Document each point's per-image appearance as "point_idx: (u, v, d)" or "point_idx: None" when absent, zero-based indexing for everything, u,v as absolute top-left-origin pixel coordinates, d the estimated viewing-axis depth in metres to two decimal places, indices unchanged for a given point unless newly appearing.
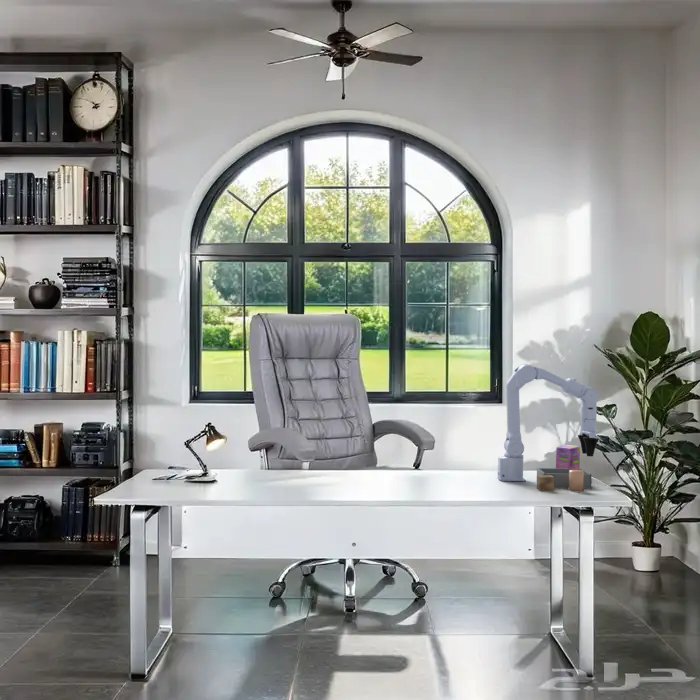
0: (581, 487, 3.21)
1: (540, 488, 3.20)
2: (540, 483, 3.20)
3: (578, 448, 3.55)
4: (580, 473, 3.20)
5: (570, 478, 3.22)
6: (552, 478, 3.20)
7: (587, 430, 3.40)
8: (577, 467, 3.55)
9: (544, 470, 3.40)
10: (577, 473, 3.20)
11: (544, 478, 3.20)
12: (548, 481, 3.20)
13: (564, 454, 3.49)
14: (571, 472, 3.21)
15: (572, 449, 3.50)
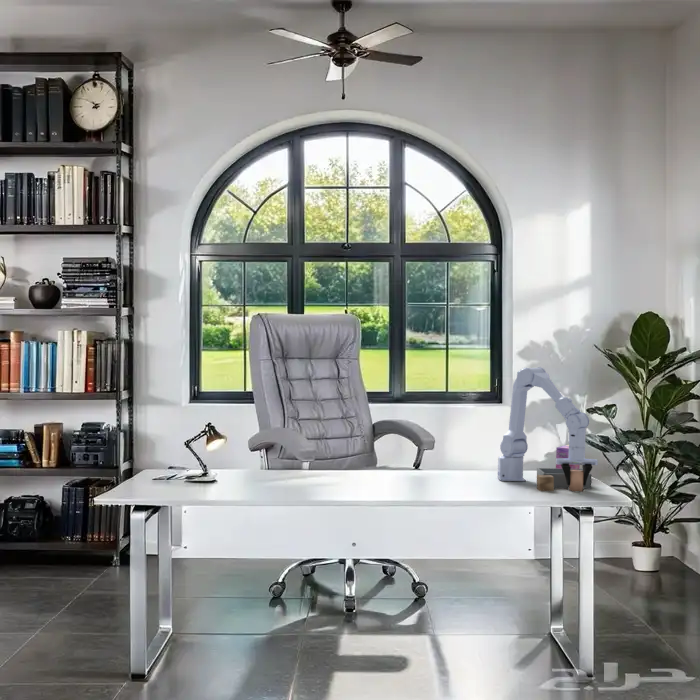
0: (581, 487, 3.21)
1: (540, 488, 3.20)
2: (540, 483, 3.20)
3: None
4: (580, 473, 3.20)
5: (570, 478, 3.22)
6: (552, 478, 3.20)
7: None
8: (577, 467, 3.55)
9: (544, 470, 3.40)
10: (577, 473, 3.20)
11: (544, 478, 3.20)
12: (548, 481, 3.20)
13: (564, 454, 3.49)
14: (571, 472, 3.21)
15: None
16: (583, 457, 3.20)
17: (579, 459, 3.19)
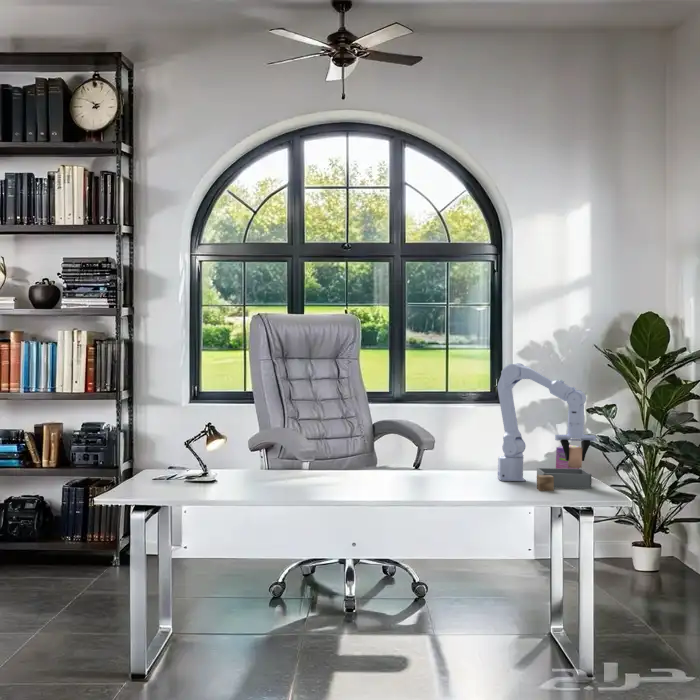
0: (580, 463, 3.30)
1: (540, 488, 3.20)
2: (540, 483, 3.20)
3: None
4: (579, 450, 3.29)
5: (569, 455, 3.31)
6: (552, 478, 3.20)
7: None
8: None
9: (544, 470, 3.40)
10: (576, 450, 3.29)
11: (544, 478, 3.20)
12: (548, 481, 3.20)
13: (564, 454, 3.49)
14: (570, 449, 3.30)
15: None
16: (582, 433, 3.30)
17: (578, 435, 3.29)
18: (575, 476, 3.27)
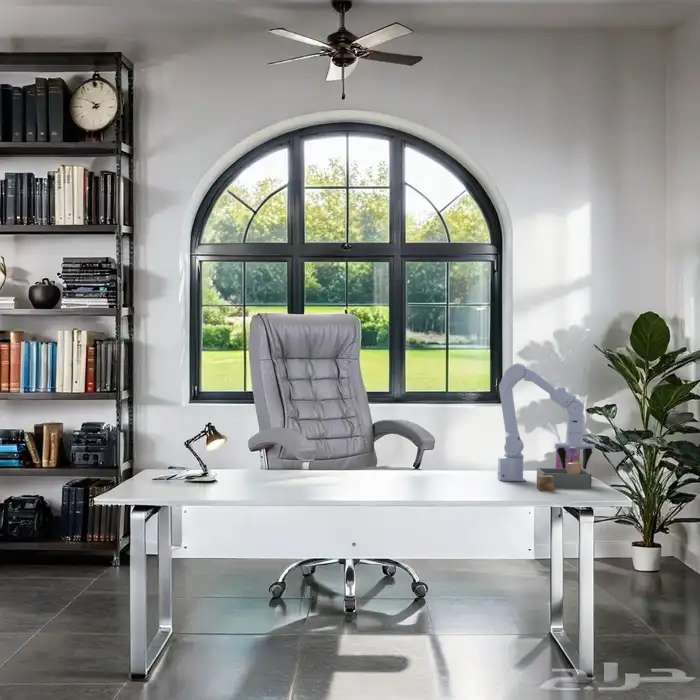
0: None
1: (540, 488, 3.20)
2: (540, 483, 3.20)
3: None
4: (577, 465, 3.34)
5: (568, 470, 3.36)
6: (552, 478, 3.20)
7: None
8: None
9: (544, 470, 3.40)
10: (574, 465, 3.34)
11: (544, 478, 3.20)
12: (548, 481, 3.20)
13: None
14: (569, 464, 3.35)
15: (572, 449, 3.50)
16: (581, 442, 3.35)
17: (577, 444, 3.34)
18: (575, 476, 3.27)
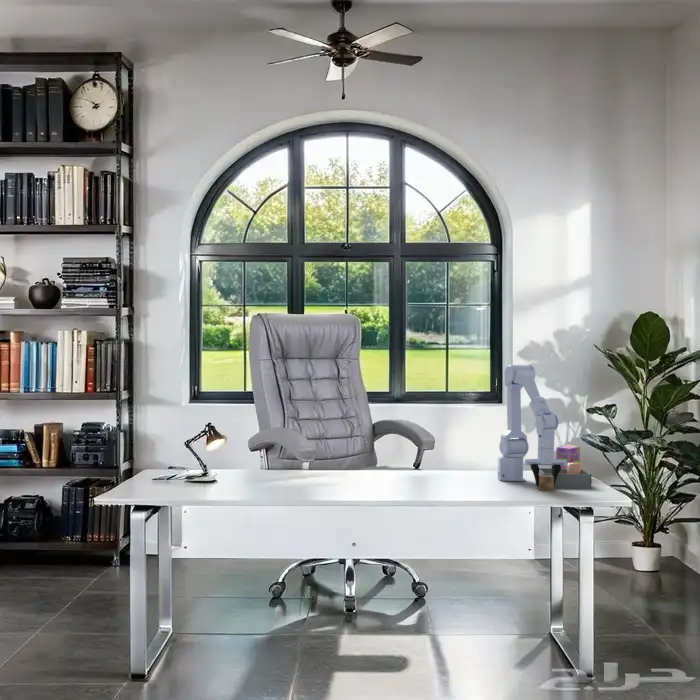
0: None
1: (540, 488, 3.20)
2: (540, 483, 3.20)
3: (578, 448, 3.55)
4: (577, 465, 3.34)
5: (568, 470, 3.36)
6: (552, 478, 3.20)
7: None
8: None
9: (544, 470, 3.40)
10: (574, 465, 3.34)
11: (544, 478, 3.20)
12: (548, 481, 3.20)
13: (564, 454, 3.49)
14: (569, 464, 3.35)
15: (572, 449, 3.50)
16: (552, 458, 3.20)
17: (548, 460, 3.20)
18: (575, 476, 3.27)
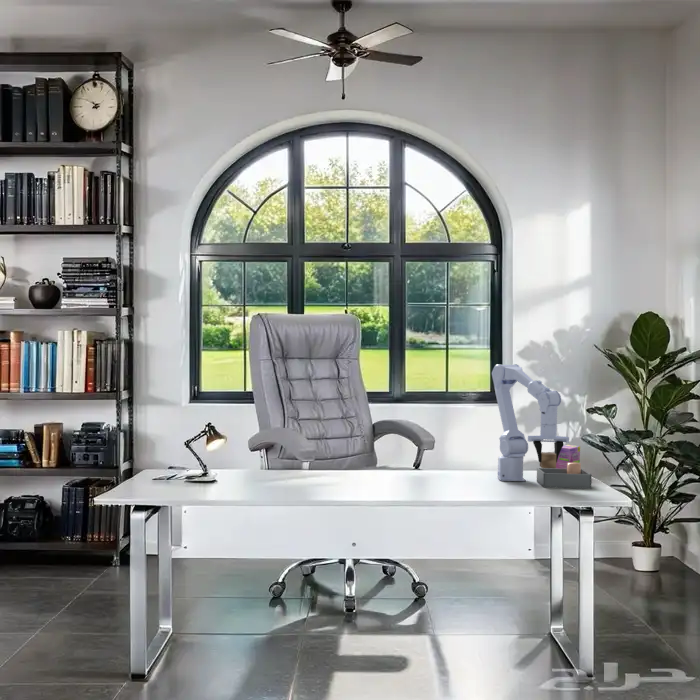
0: None
1: (542, 465, 3.25)
2: (543, 460, 3.25)
3: (578, 448, 3.55)
4: (577, 465, 3.34)
5: (568, 470, 3.36)
6: (555, 455, 3.24)
7: (540, 435, 3.28)
8: None
9: (544, 470, 3.40)
10: (574, 465, 3.34)
11: (547, 455, 3.24)
12: (551, 458, 3.24)
13: (564, 454, 3.49)
14: (568, 464, 3.36)
15: (572, 449, 3.50)
16: (554, 434, 3.25)
17: (550, 436, 3.24)
18: (575, 476, 3.27)
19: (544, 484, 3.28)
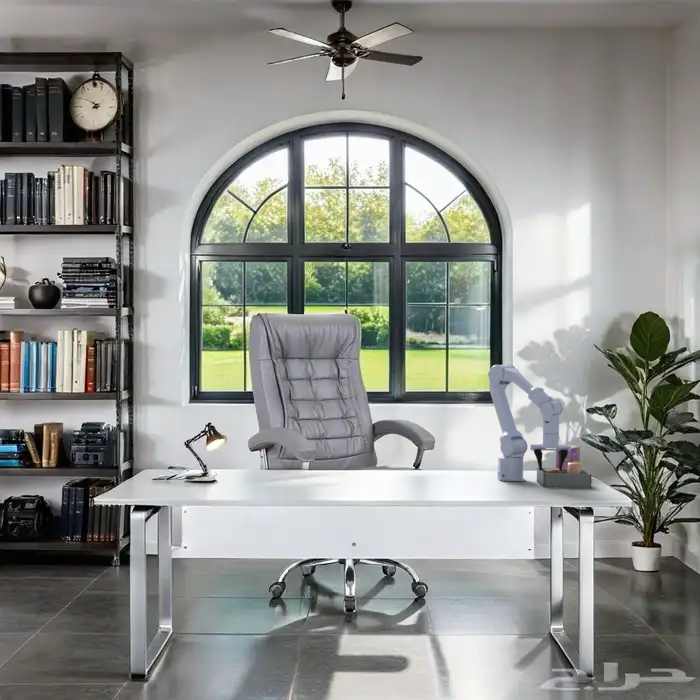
0: None
1: None
2: None
3: (578, 448, 3.55)
4: (577, 465, 3.34)
5: (568, 470, 3.36)
6: (559, 470, 3.29)
7: None
8: None
9: None
10: (574, 465, 3.34)
11: (551, 471, 3.29)
12: None
13: None
14: (569, 464, 3.35)
15: (572, 449, 3.50)
16: (557, 443, 3.29)
17: (553, 445, 3.29)
18: (575, 476, 3.27)
19: (544, 484, 3.28)
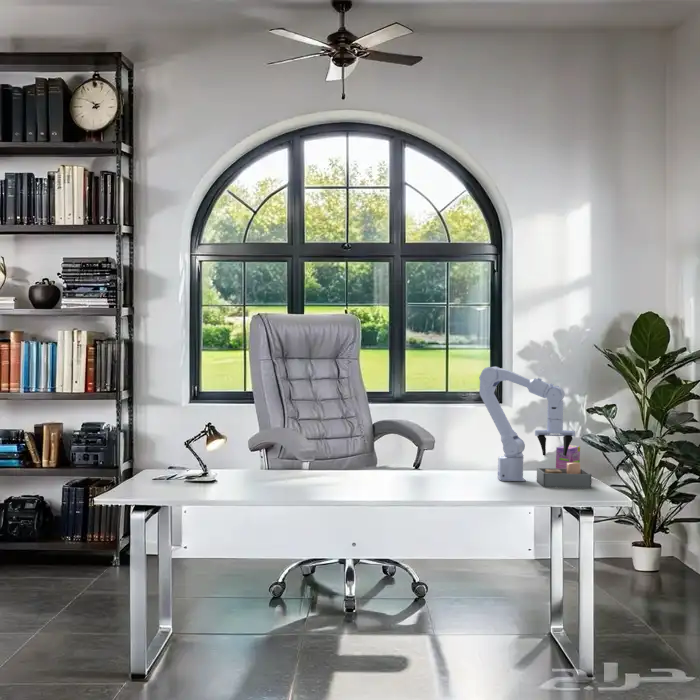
0: None
1: None
2: None
3: (578, 448, 3.55)
4: (576, 465, 3.34)
5: (567, 470, 3.36)
6: (560, 472, 3.29)
7: (547, 429, 3.38)
8: None
9: (544, 470, 3.40)
10: (573, 465, 3.34)
11: (552, 472, 3.29)
12: None
13: None
14: (567, 464, 3.36)
15: (572, 449, 3.50)
16: (561, 428, 3.35)
17: (557, 430, 3.34)
18: (575, 476, 3.27)
19: (544, 484, 3.28)
